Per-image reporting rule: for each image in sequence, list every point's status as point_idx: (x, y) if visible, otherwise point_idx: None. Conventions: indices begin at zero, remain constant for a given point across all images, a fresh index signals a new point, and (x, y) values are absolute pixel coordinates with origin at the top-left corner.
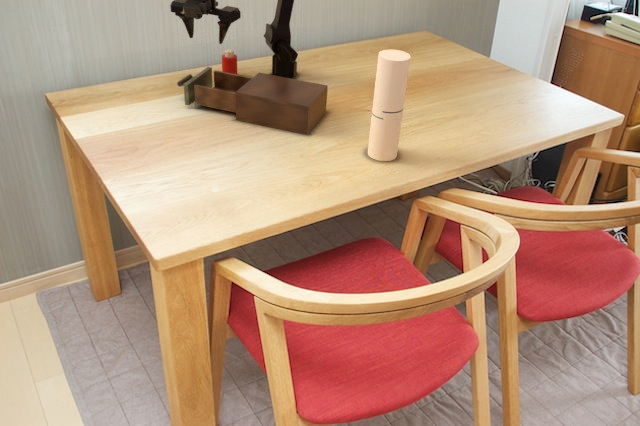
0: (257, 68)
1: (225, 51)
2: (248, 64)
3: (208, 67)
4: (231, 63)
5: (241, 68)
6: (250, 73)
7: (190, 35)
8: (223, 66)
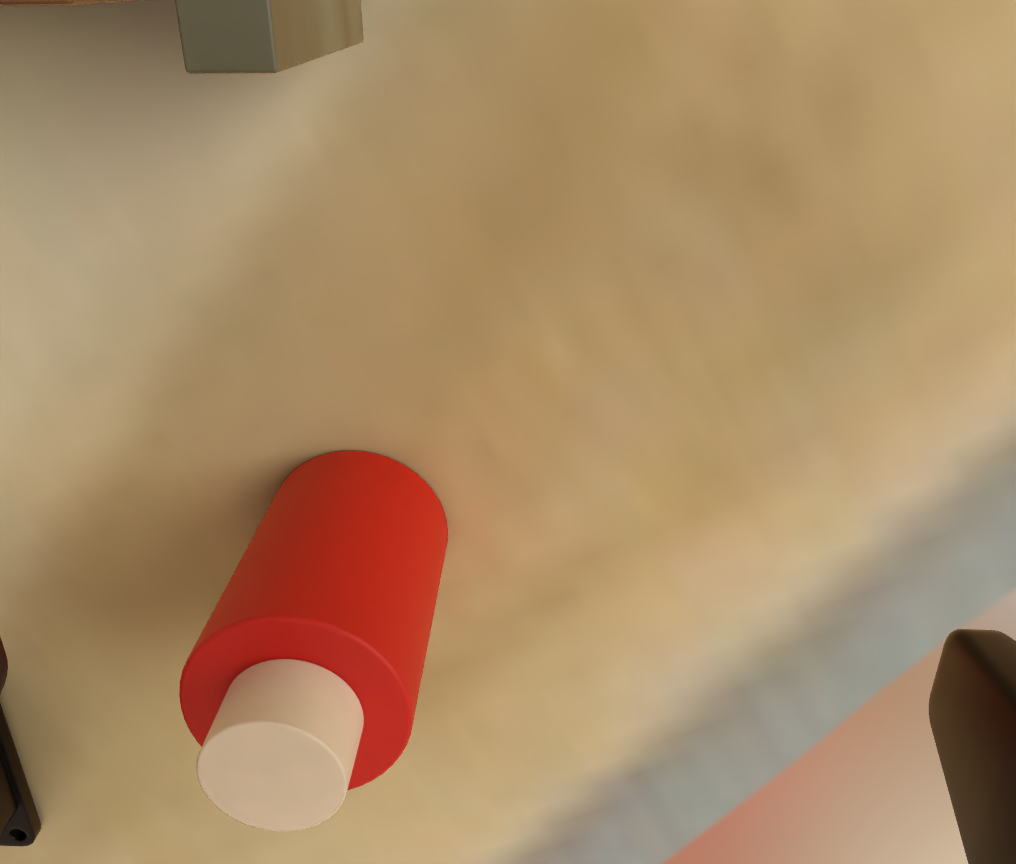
0: None
1: (309, 739)
2: (369, 851)
3: (243, 40)
4: (231, 593)
5: None
6: None
7: (1005, 674)
8: (366, 545)
